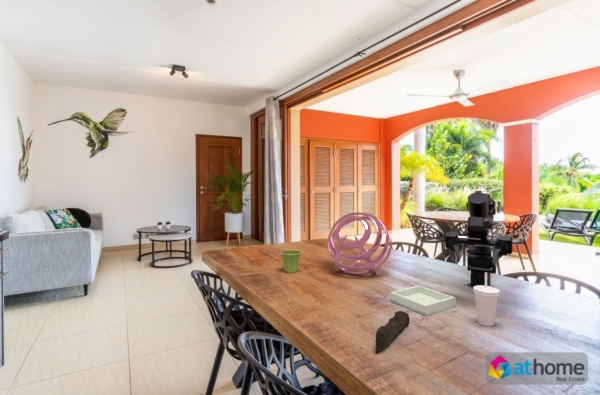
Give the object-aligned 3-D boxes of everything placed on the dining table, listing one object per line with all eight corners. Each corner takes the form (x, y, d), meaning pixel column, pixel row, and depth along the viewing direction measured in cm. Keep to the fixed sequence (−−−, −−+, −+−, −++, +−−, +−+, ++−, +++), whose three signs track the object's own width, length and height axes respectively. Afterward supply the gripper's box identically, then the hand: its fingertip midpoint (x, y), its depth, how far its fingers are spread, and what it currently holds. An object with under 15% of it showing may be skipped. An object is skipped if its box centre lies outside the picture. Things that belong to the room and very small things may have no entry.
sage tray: (418, 293, 111) (418, 285, 111) (455, 306, 99) (455, 297, 99) (390, 301, 104) (390, 292, 104) (425, 316, 92) (425, 306, 92)
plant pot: (301, 273, 138) (301, 254, 138) (280, 274, 138) (279, 254, 138) (301, 268, 147) (301, 250, 147) (281, 268, 148) (281, 250, 147)
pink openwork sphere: (352, 222, 163) (337, 194, 142) (405, 239, 147) (397, 211, 126) (327, 269, 154) (307, 247, 133) (381, 294, 138) (368, 272, 117)
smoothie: (496, 320, 89) (496, 271, 88) (502, 330, 83) (503, 277, 82) (470, 317, 91) (471, 269, 90) (475, 326, 85) (475, 275, 84)
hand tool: (395, 322, 89) (395, 306, 88) (409, 326, 86) (409, 309, 86) (365, 351, 74) (365, 331, 73) (381, 356, 71) (381, 336, 71)
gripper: (445, 207, 105) (439, 242, 96) (512, 209, 95) (513, 248, 85) (448, 230, 112) (442, 265, 102) (511, 234, 101) (512, 273, 92)
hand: (475, 263), depth 95 cm, fingers open, 9 cm apart
